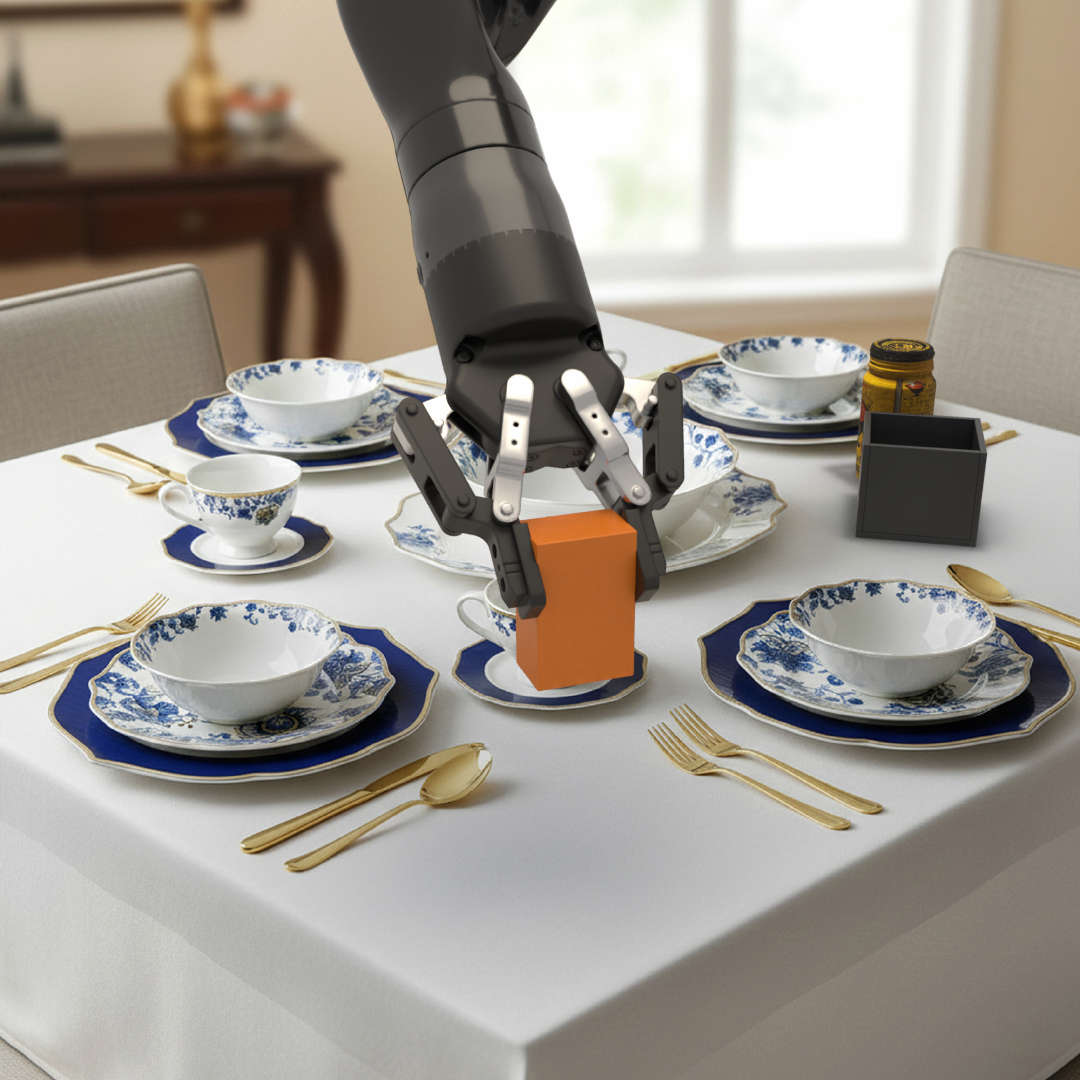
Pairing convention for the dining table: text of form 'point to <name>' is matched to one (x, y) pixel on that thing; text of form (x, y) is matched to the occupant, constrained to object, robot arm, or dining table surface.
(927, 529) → the bin
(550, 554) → the block
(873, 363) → the condiment
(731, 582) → the dining table surface
